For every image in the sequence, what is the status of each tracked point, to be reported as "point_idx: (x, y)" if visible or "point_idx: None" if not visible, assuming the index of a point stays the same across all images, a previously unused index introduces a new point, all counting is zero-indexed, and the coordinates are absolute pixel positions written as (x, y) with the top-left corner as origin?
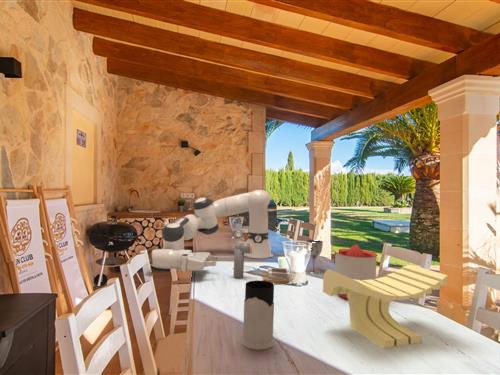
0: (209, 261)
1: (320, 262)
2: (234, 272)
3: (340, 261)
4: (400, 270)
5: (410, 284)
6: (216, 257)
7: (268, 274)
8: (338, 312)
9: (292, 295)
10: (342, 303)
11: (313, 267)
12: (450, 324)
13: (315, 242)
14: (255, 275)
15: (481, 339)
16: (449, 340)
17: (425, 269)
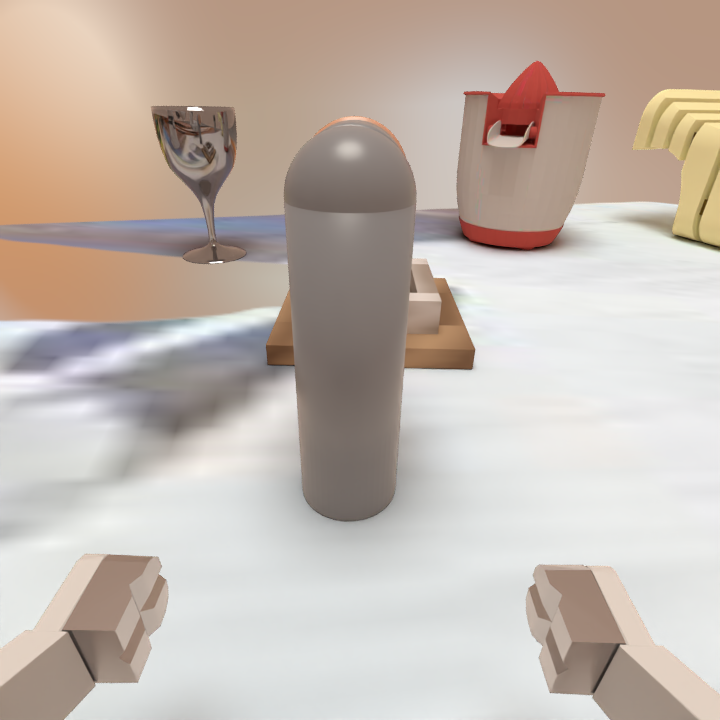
0: (699, 705)
1: (70, 235)
2: (379, 472)
3: (580, 123)
4: (680, 105)
5: None
6: (131, 593)
7: (431, 311)
8: (680, 264)
9: (600, 309)
10: (589, 253)
11: (215, 237)
12: (601, 206)
13: (232, 108)
14: (280, 393)
15: (647, 204)
16: None
17: (696, 90)
